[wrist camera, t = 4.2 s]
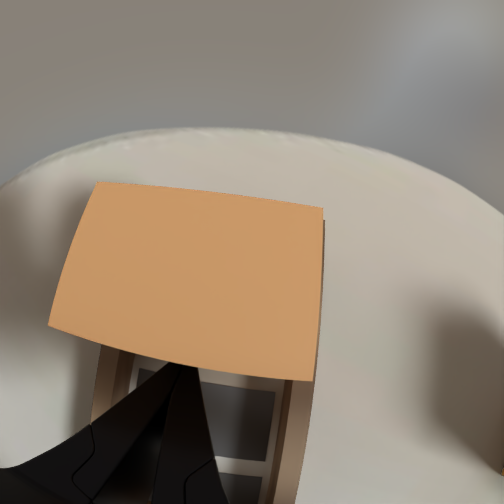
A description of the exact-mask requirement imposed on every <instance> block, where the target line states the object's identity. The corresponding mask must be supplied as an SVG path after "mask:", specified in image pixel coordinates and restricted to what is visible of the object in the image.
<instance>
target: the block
mask: <svg viewBox="0 0 504 504" xmlns="http://www.w3.org/2000/svg"><path fill="white" fill-rule="evenodd" d="M322 244H323V208H320V207H314V206H308V205H302V204H296V203H290V202H283V201H276V200H270V199H263V198H256V197H249V196H241V195H233V194H226V193H217V192H209V191H200V190H191V189H182V188H172V187H161V186H150V185H138V184H124V183H110V182H97V183H96V185H95V188H94V190H93V192H92V194H91V196H90V199H89V201H88V203H87V206H86V208H85V210H84V213H83V215H82V217H81V220H80V222H79V225H78V227H77V230H76V233H75V235H74V238H73V241H72V243H71V246H70V249H69V252H68V255H67V258H66V261H65V264H64V267H63V270H62V273H61V277H60V280H59V283H58V287H57V290H56V294H55V297H54V301H53V305H52V309H51V313H50V317H49V322H48V326H50V327H53V328H56V329H58V330H61V331H64V332H67V333H70V334H72V335H75V336H78V337H81V338H84V339H87V340H91V341H94V342H97V343H100V344H104V345H107V346H110V347H114V348H117V349H121V350H124V351H128V352H132V353H136V354H140V355H144V356H148V357H152V358H156V359H160V360H165V361H169V362H174V363H179V364H183V365H188V366H194V367H199V368H204V369H210V370H216V371H222V372H229V373H235V374H242V375H250V376H258V377H267V378H276V379H287V380H299V381H313V374H314V365H315V355H316V344H317V333H318V321H319V307H320V291H321V271H322Z"/></svg>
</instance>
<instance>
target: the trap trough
mask: <svg viewBox="0 0 504 504" xmlns="http://www.w3.org/2000/svg"><path fill="white" fill-rule="evenodd" d="M324 241H325V220H323V244H322V271H321V291H320V307H319V321H318V333H317V344H316V355H315V365H314V374H313V381H299V380H287V379H276V378H267V377H258V376H250V375H242V374H235V373H229V372H222V371H216V370H210V369H204V368H199V367H198V370H199V377H200V382H201V388H202V394H203V400H204V405H205V410H206V415H207V421H208V426H209V430H210V435H211V440H212V445H213V449H214V454H215V459H216V462H217V466H218V470H219V474H220V477H221V481H222V484H223V487H224V490H225V492H226V495H227V497H228V500H229V502H230V504H295V499H296V495H297V490H298V485H299V480H300V475H301V470H302V464H303V459H304V453H305V447H306V441H307V435H308V429H309V422H310V415H311V408H312V400H313V393H314V384H315V376H316V367H317V357H318V346H319V335H320V322H321V308H322V292H323V271H324ZM168 362H169V361H165V360H160V359H156V358H152V357H148V356H144V355H140V354H136V353H132V352H128V351H124V350H121V349H117V348H114V347H110V346H107V345H104V344H102V346H101V351H100V357H99V363H98V368H97V375H96V381H95V388H94V396H93V404H92V412H91V422H93V421H94V420H95V419H97V418H98V417H99V416H101V415H102V414H103V413H104V412H106V411H107V410H108V409H110V408H111V407H112V406H114V405H115V404H116V403H117V402H119V401H120V400H121V399H123V398H124V397H125V396H126V395H128V394H129V393H130V392H132V391H133V390H134V389H135V388H137V387H138V386H139V385H140V384H142V383H143V382H144V381H145V380H147V379H148V378H149V377H150V376H152V375H153V374H154V373H155V372H157V371H158V370H159V369H160V368H162V367H163V366H164V365H165V364H167V363H168ZM91 422H90V425H91ZM152 493H153V489H152V492H151V495H150V497H149V500H148V503H147V504H151V500H152Z"/></svg>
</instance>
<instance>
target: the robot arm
mask: <svg viewBox="0 0 504 504" xmlns="http://www.w3.org/2000/svg"><path fill="white" fill-rule="evenodd" d="M152 489H153V493H152V500H151V504H230V502H229V500H228V497H227V495H226V492H225V490H224V487H223V484H222V481H221V477H220V474H219V470H218V466H217V462H216V459H215V454H214V449H213V445H212V440H211V435H210V430H209V426H208V421H207V415H206V410H205V405H204V400H203V394H202V388H201V382H200V377H199V370H198V367H194V366H188V365H183V364H179V363H174V362H168V363H167V364H165V365H164V366H163V367H162V368H160V369H159V370H158V371H157V372H155V373H154V374H153V375H152V376H150V377H149V378H148V379H147V380H145V381H144V382H143V383H142V384H140V385H139V386H138V387H137V388H135V389H134V390H133V391H132V392H130V393H129V394H128V395H126V396H125V397H124V398H123V399H121V400H120V401H119V402H117V403H116V404H115V405H114V406H112V407H111V408H110V409H108V410H107V411H106V412H104V413H103V414H102V415H101V416H99V417H98V418H97V419H95V420H94V421H93V422H91V425H90V424H88V425H87V426H86V427H85V428H83V429H82V430H81V431H79V432H78V433H76V434H75V435H73V436H72V437H70V438H69V439H67V440H66V441H64V442H62V443H61V444H59V445H57V446H56V447H54V448H52V449H50V450H48V451H46V452H44V453H42V454H41V455H39V456H37V457H35V458H33V459H31V460H29V461H27V462H25V463H23V464H20V465H18V466H14V467H10V468H0V504H147V503H148V500H149V497H150V495H151V492H152Z"/></svg>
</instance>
